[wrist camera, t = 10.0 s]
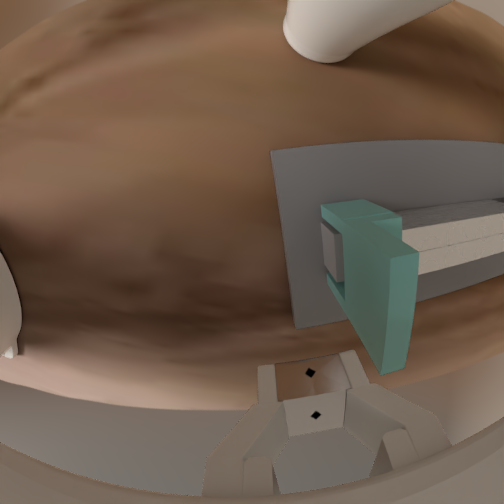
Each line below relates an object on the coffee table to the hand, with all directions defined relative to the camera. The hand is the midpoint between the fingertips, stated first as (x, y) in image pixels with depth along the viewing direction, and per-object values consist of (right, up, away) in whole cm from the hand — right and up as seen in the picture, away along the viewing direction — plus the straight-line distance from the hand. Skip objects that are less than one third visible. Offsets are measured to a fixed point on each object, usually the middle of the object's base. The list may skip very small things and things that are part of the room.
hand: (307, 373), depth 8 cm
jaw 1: (+14, +7, +10) cm, 19 cm away
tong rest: (+14, +7, +12) cm, 20 cm away
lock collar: (+4, +4, +10) cm, 12 cm away
